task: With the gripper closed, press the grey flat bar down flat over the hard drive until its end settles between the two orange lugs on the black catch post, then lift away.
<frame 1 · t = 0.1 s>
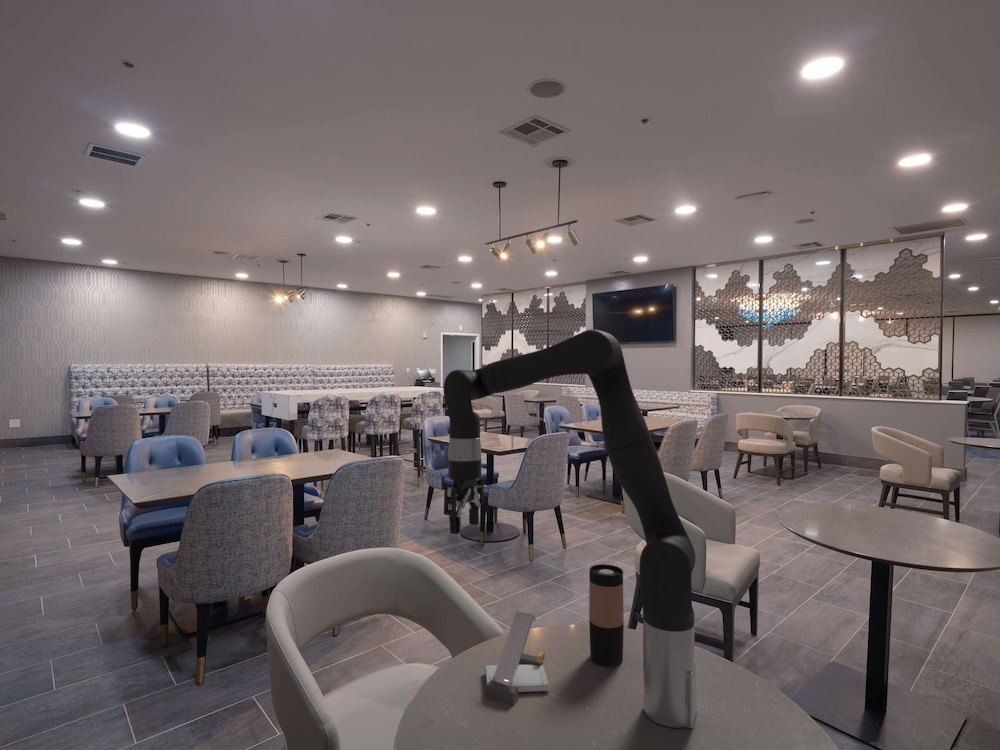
hand: (465, 528, 121), 29 cm above the table, tool pointing down, fingers open, 8 cm apart
hard drive: (516, 682, 110), on the table, touching bracket
travel mug: (606, 659, 120), on the table
grey flat bar: (514, 648, 110), point 7 cm above the table, hinge at 40.0°
bracket: (516, 682, 110), on the table
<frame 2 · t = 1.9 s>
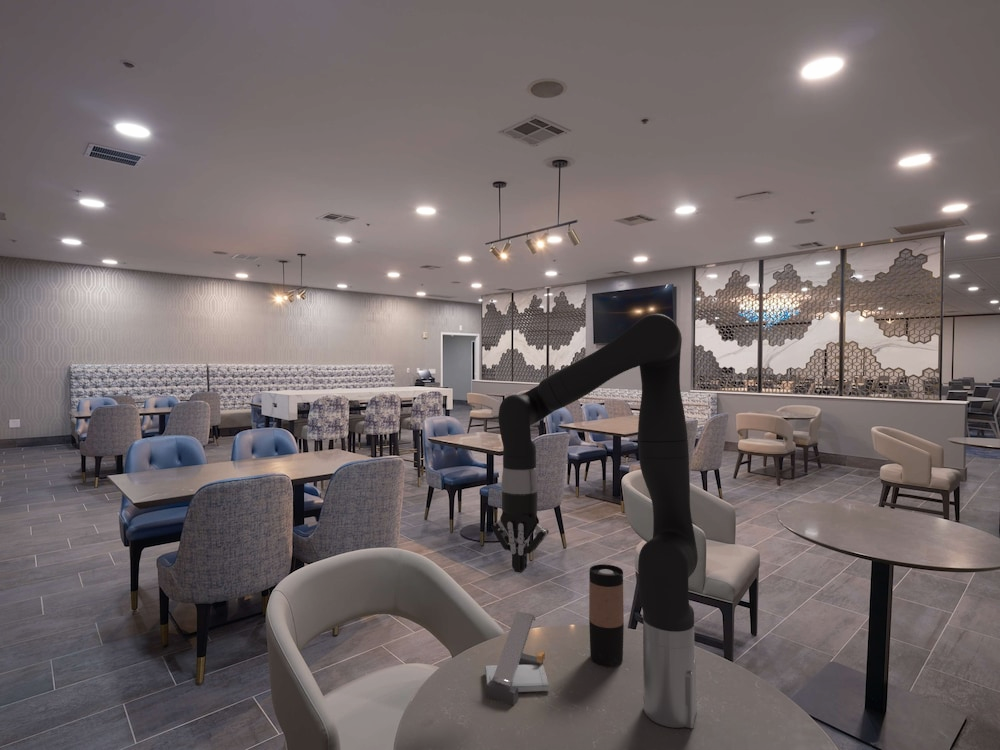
hand: (519, 571, 112), 23 cm above the table, tool pointing down, fingers closed
nothing on the table moved.
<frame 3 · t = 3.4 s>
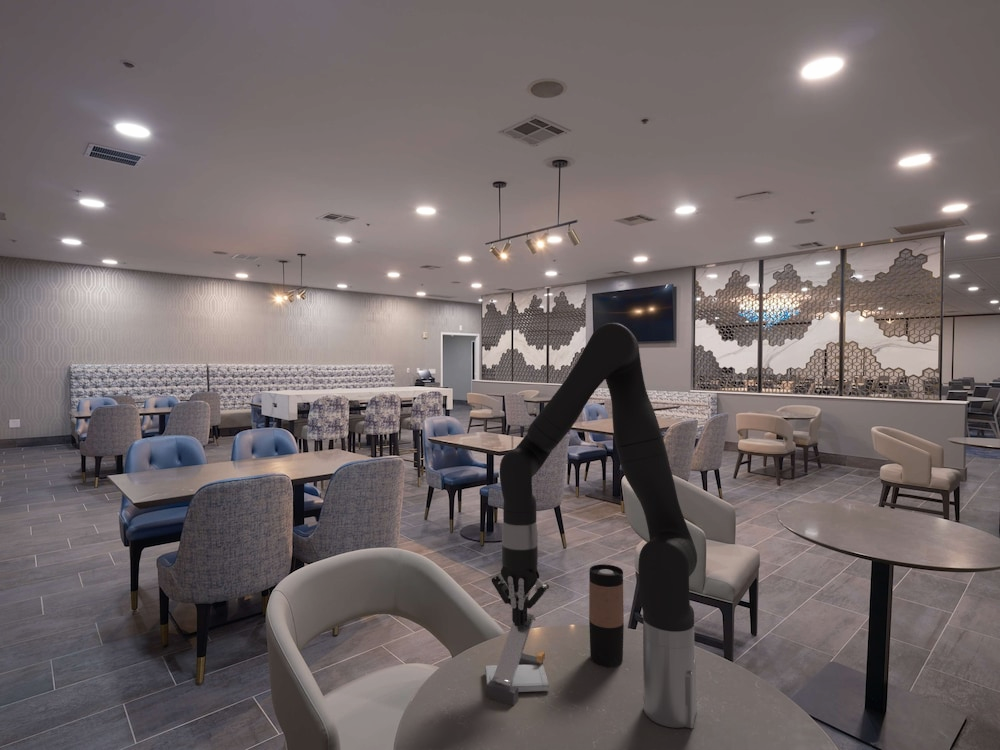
hand: (519, 625, 112), 11 cm above the table, tool pointing down, fingers closed
grey flat bar: (514, 648, 110), point 7 cm above the table, hinge at 39.9°, touching gripper
everything else where it was.
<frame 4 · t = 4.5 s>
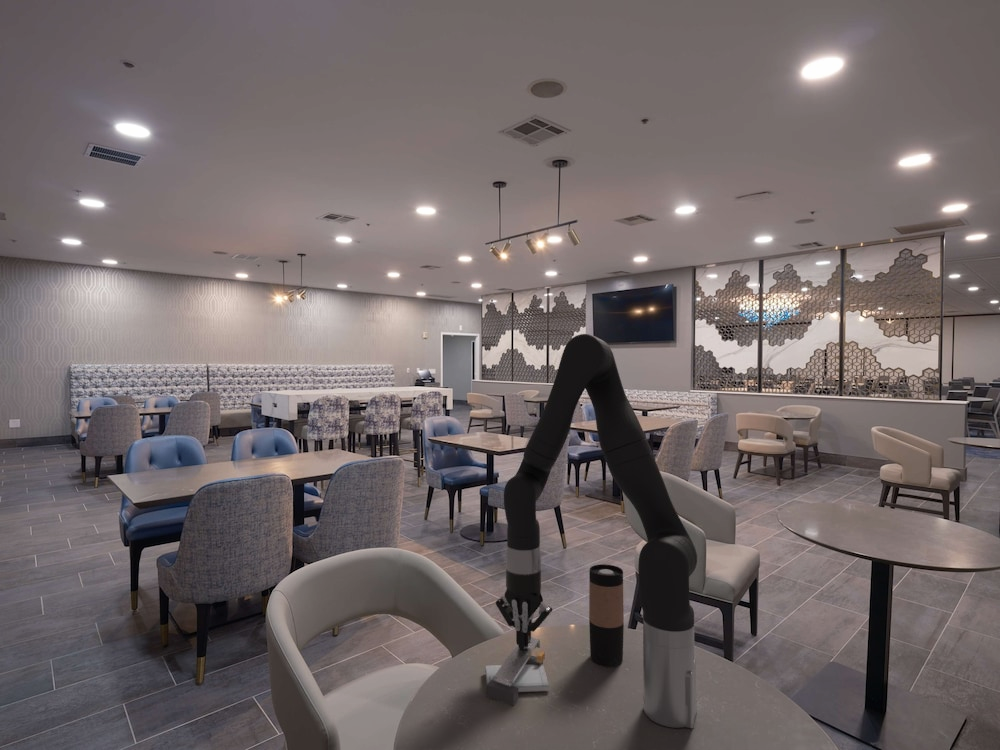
hand: (523, 647, 114), 6 cm above the table, tool pointing down, fingers closed
grey flat bar: (517, 661, 111), point 4 cm above the table, hinge at 10.2°, touching gripper
everything else where it was.
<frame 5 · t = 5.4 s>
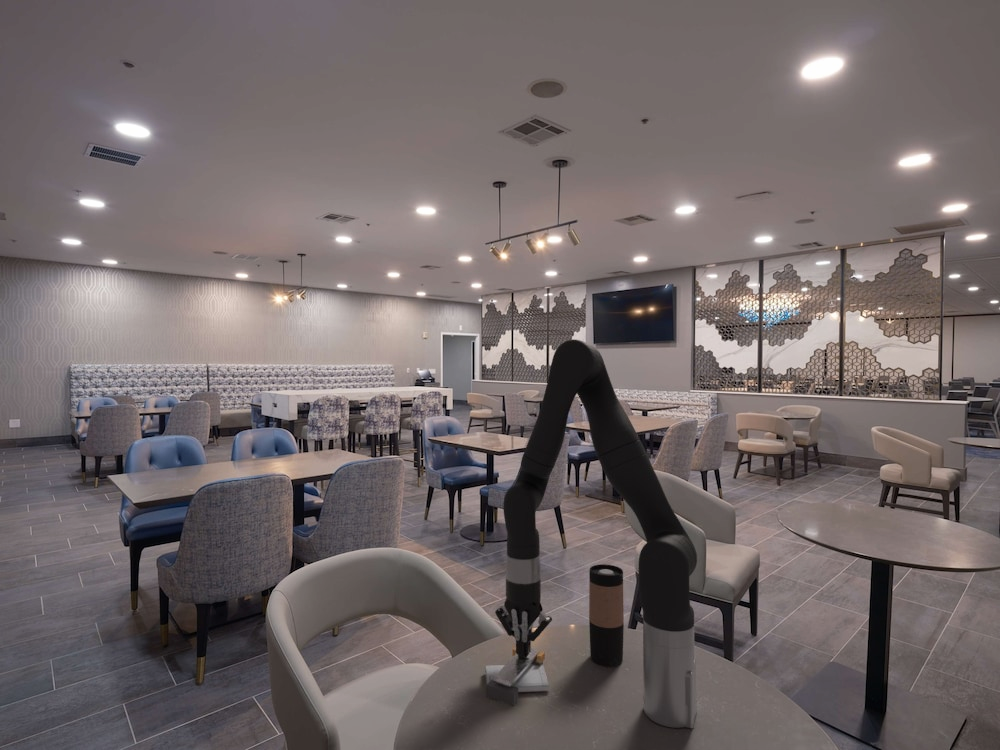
hand: (523, 656, 114), 4 cm above the table, tool pointing down, fingers closed
grey flat bar: (517, 667, 111), point 3 cm above the table, hinge at 0.0°, touching gripper
everything else where it was.
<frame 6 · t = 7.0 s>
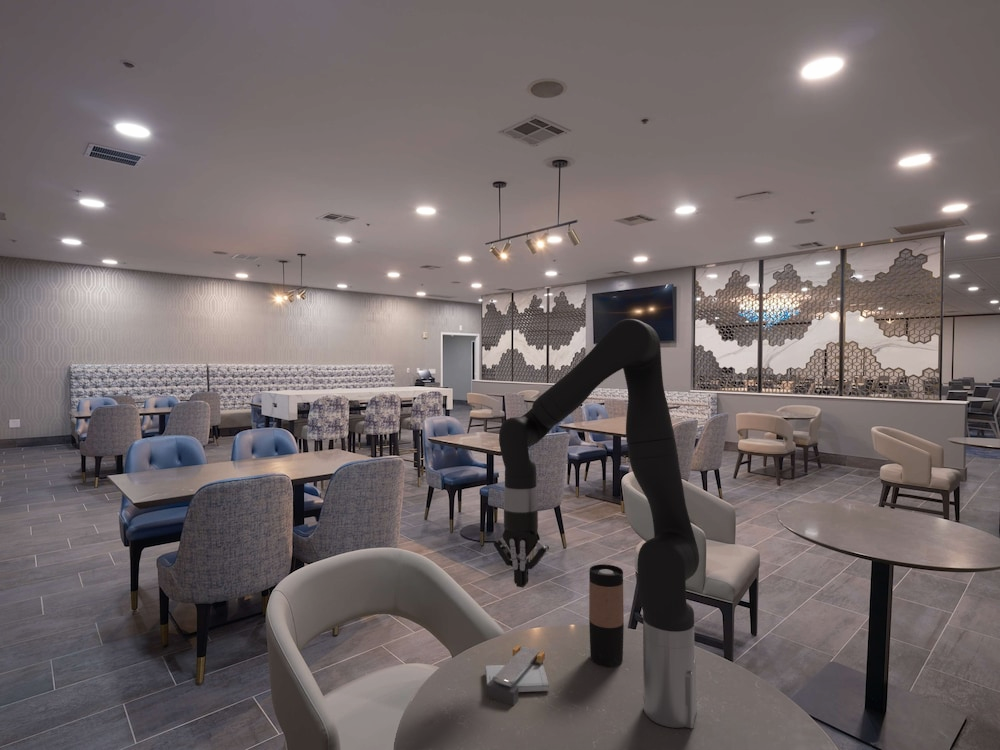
hand: (521, 585, 117), 18 cm above the table, tool pointing down, fingers closed
grey flat bar: (517, 667, 111), point 3 cm above the table, hinge at -0.1°
everything else where it was.
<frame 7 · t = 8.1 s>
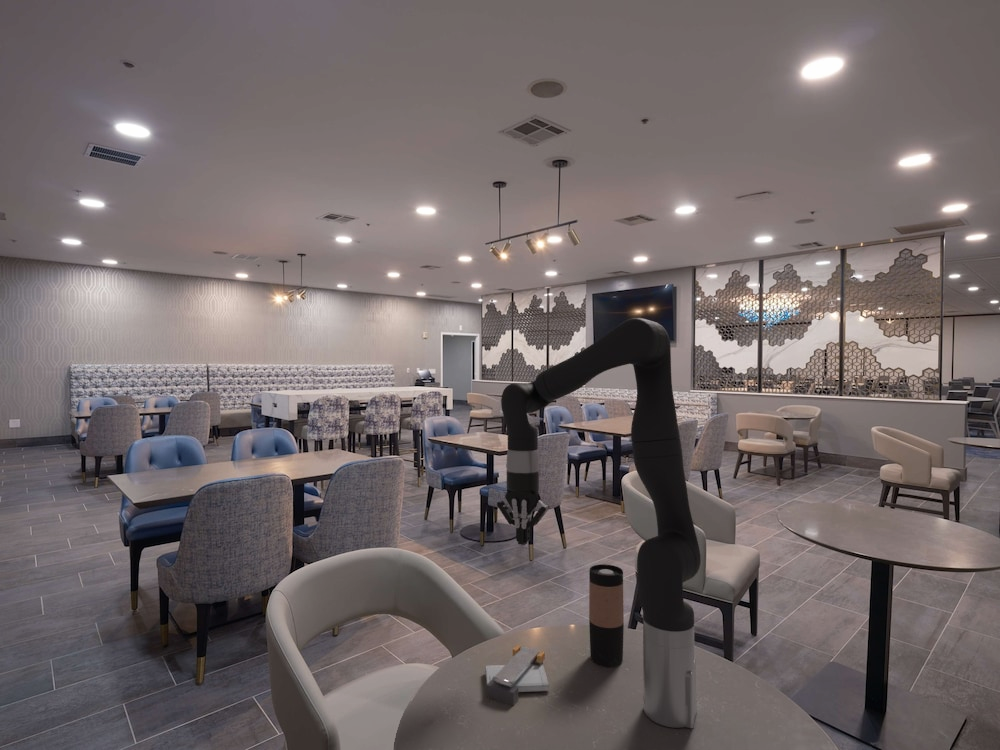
hand: (522, 543, 123), 25 cm above the table, tool pointing down, fingers closed
nothing on the table moved.
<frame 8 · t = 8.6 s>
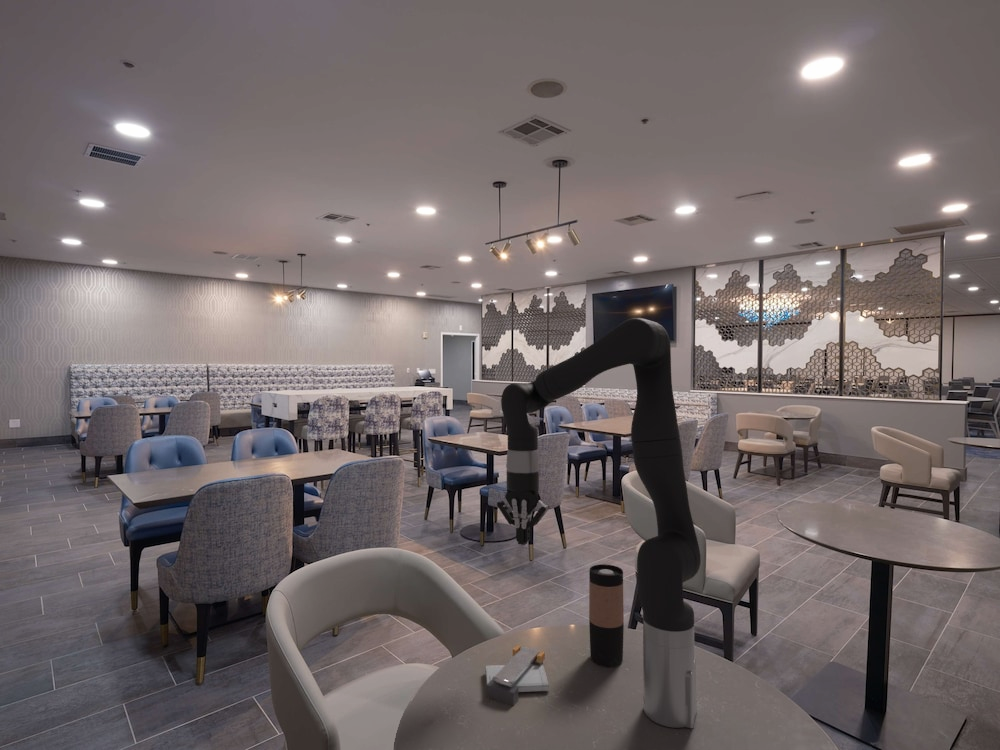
hand: (522, 543, 123), 25 cm above the table, tool pointing down, fingers closed
nothing on the table moved.
at the end: grey flat bar at +0° (first picture: +40°); hard drive moved 0.0 cm from its start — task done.
